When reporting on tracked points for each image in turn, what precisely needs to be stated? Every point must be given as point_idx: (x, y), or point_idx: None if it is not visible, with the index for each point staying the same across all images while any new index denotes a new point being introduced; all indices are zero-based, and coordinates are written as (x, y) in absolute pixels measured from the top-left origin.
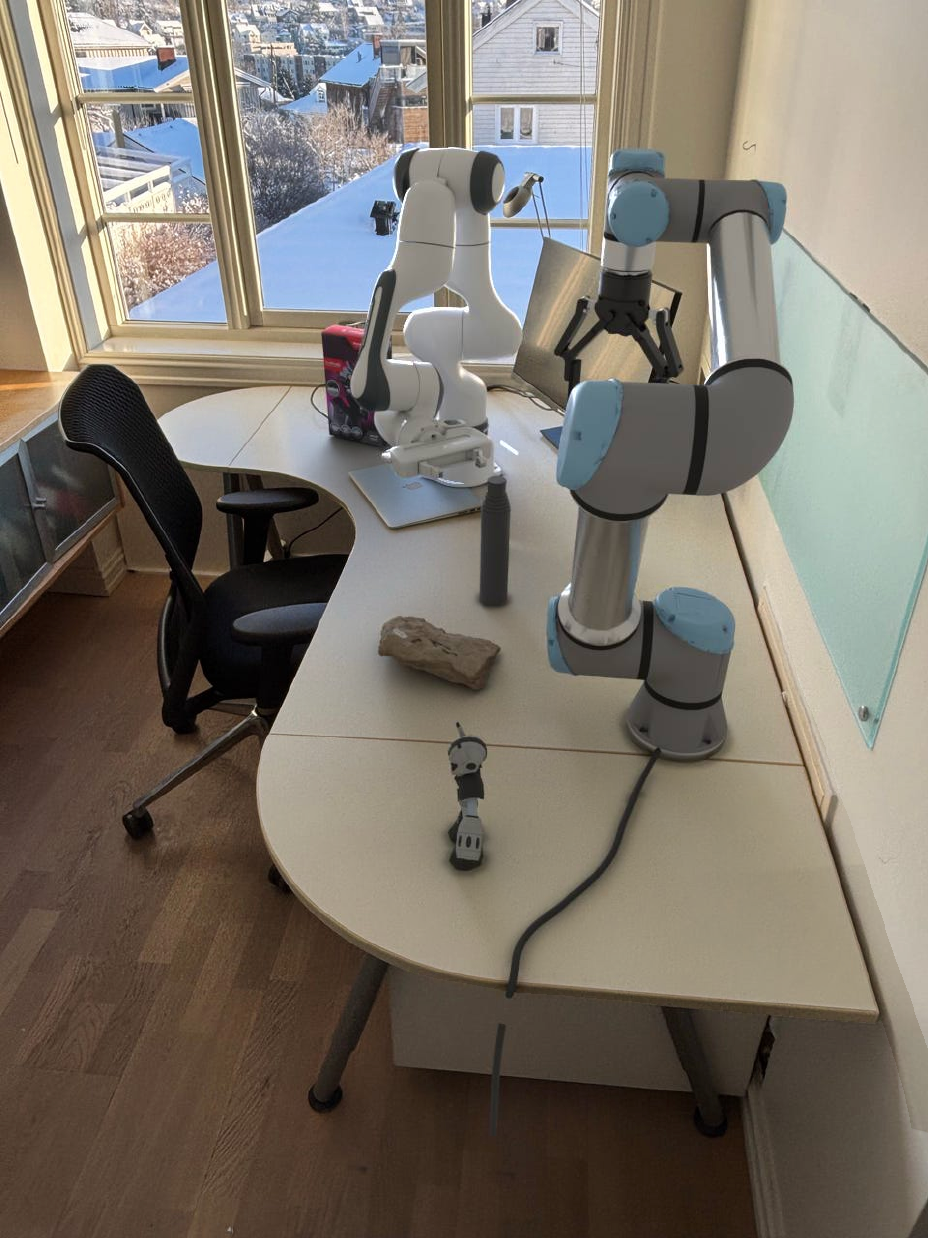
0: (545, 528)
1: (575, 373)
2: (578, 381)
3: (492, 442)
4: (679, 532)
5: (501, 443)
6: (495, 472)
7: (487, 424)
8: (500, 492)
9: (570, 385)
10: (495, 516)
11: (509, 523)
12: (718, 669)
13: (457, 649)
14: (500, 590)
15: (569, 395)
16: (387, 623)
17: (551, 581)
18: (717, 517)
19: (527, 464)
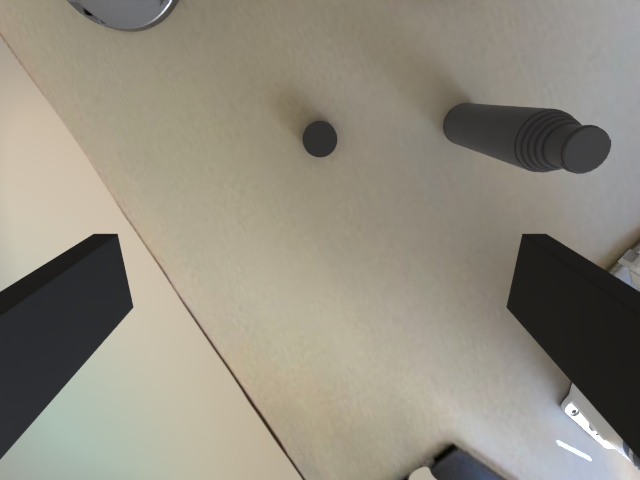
0: (460, 317)
1: (637, 348)
2: (566, 352)
3: (605, 438)
4: (307, 381)
5: (587, 456)
6: (569, 402)
7: (636, 459)
8: (558, 133)
9: (603, 278)
10: (534, 112)
11: (499, 142)
12: None
13: None
14: (456, 114)
15: (563, 250)
16: None
17: (406, 206)
18: (282, 426)
19: (535, 439)
